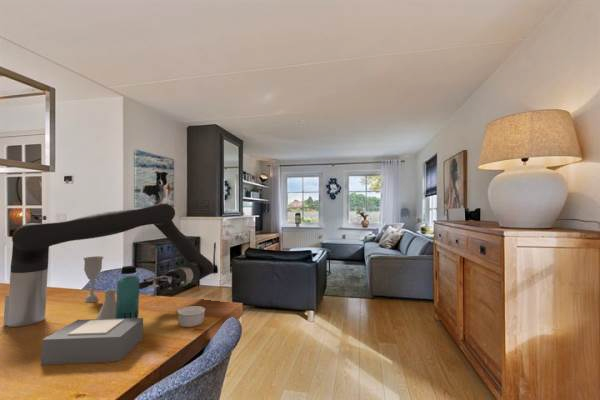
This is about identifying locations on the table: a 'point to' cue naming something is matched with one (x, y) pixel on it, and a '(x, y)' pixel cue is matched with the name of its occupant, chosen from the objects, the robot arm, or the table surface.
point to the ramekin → (191, 316)
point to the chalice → (92, 274)
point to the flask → (108, 306)
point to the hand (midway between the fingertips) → (149, 287)
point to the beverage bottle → (127, 294)
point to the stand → (92, 341)
